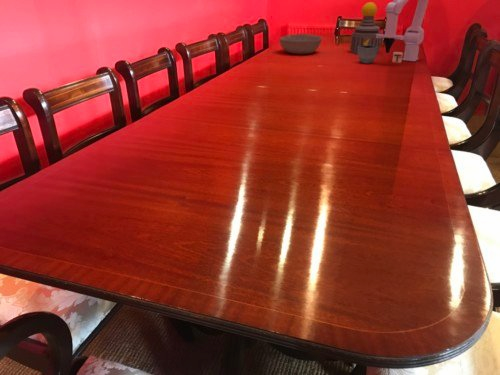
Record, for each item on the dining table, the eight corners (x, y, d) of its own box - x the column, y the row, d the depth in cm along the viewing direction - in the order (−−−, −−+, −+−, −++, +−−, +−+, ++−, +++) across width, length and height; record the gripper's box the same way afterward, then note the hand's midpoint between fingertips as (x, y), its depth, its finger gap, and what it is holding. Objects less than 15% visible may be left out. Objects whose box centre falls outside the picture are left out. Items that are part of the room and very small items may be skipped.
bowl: (299, 48, 278) (300, 33, 273) (329, 52, 259) (331, 36, 254) (270, 52, 262) (270, 36, 258) (300, 58, 244) (301, 41, 239)
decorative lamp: (380, 55, 249) (388, 3, 235) (350, 54, 252) (356, 3, 238) (377, 50, 266) (383, 1, 252) (348, 49, 268) (353, 1, 254)
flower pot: (364, 64, 223) (366, 48, 219) (355, 62, 230) (357, 46, 226) (377, 63, 226) (379, 47, 222) (367, 60, 233) (369, 44, 229)
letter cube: (392, 60, 233) (393, 52, 231) (401, 61, 232) (402, 52, 229) (392, 62, 229) (393, 53, 226) (401, 62, 227) (402, 53, 225)
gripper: (375, 26, 215) (372, 52, 221) (402, 28, 207) (398, 54, 214) (379, 25, 220) (376, 50, 226) (406, 26, 212) (402, 52, 219)
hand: (387, 52), depth 220 cm, fingers closed
